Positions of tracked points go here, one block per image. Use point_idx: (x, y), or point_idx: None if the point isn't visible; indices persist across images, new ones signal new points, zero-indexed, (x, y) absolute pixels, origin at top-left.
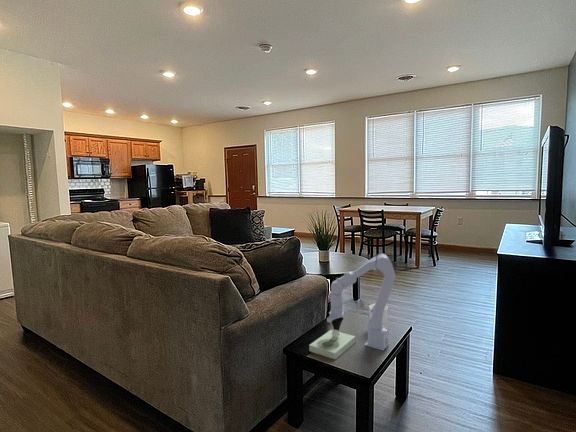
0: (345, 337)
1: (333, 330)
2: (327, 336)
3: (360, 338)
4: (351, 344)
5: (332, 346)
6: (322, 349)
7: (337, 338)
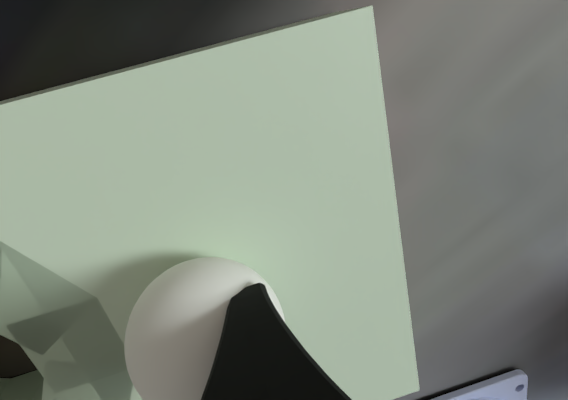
0: None
1: (161, 374)
2: (104, 188)
3: (484, 305)
4: None
5: None
6: None
7: None
